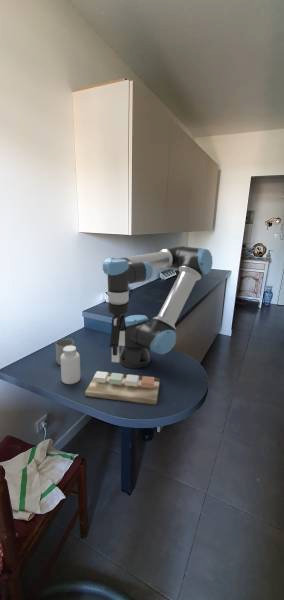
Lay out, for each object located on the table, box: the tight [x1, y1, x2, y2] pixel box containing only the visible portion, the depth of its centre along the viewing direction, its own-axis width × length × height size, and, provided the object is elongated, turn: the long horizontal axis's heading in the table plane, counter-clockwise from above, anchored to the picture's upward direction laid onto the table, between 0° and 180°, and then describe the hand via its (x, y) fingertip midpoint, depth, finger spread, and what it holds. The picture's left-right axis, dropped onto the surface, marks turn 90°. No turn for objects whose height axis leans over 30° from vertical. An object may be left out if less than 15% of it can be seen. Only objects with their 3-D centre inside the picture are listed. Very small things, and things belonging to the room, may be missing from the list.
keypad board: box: [84, 372, 161, 405], centre depth 113 cm, size 14×28×3 cm, turn 82°
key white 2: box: [125, 374, 140, 386], centre depth 111 cm, size 5×5×2 cm
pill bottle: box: [60, 345, 81, 385], centre depth 117 cm, size 8×8×15 cm
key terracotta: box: [141, 375, 156, 388], centre depth 110 cm, size 5×5×2 cm
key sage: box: [109, 372, 124, 385], centre depth 112 cm, size 5×5×2 cm
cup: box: [55, 338, 75, 366], centre depth 133 cm, size 8×8×10 cm
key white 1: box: [92, 370, 109, 383], centre depth 113 cm, size 5×5×2 cm
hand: (118, 353), depth 108 cm, fingers open, 13 cm apart
